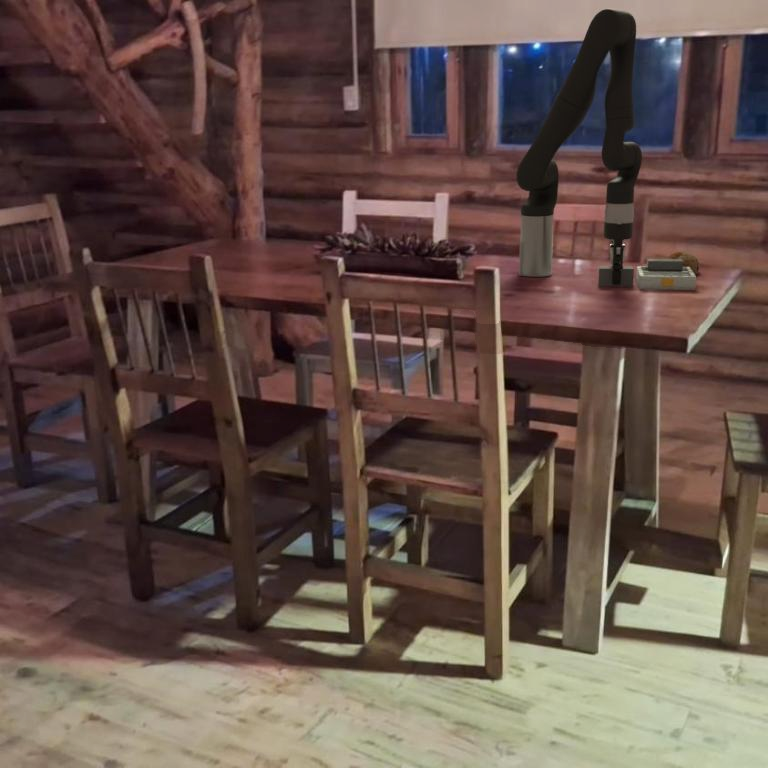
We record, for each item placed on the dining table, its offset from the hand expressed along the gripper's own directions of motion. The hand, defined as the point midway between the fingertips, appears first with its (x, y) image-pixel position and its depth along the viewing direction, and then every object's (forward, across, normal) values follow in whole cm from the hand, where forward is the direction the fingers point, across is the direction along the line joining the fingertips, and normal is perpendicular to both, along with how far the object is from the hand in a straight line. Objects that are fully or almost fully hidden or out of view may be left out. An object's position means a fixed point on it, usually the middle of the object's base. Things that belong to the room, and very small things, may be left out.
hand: (615, 281), depth 237 cm
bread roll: (+1, -20, +19) cm, 27 cm away
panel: (+1, 0, 0) cm, 1 cm away
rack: (+1, -2, +13) cm, 13 cm away
